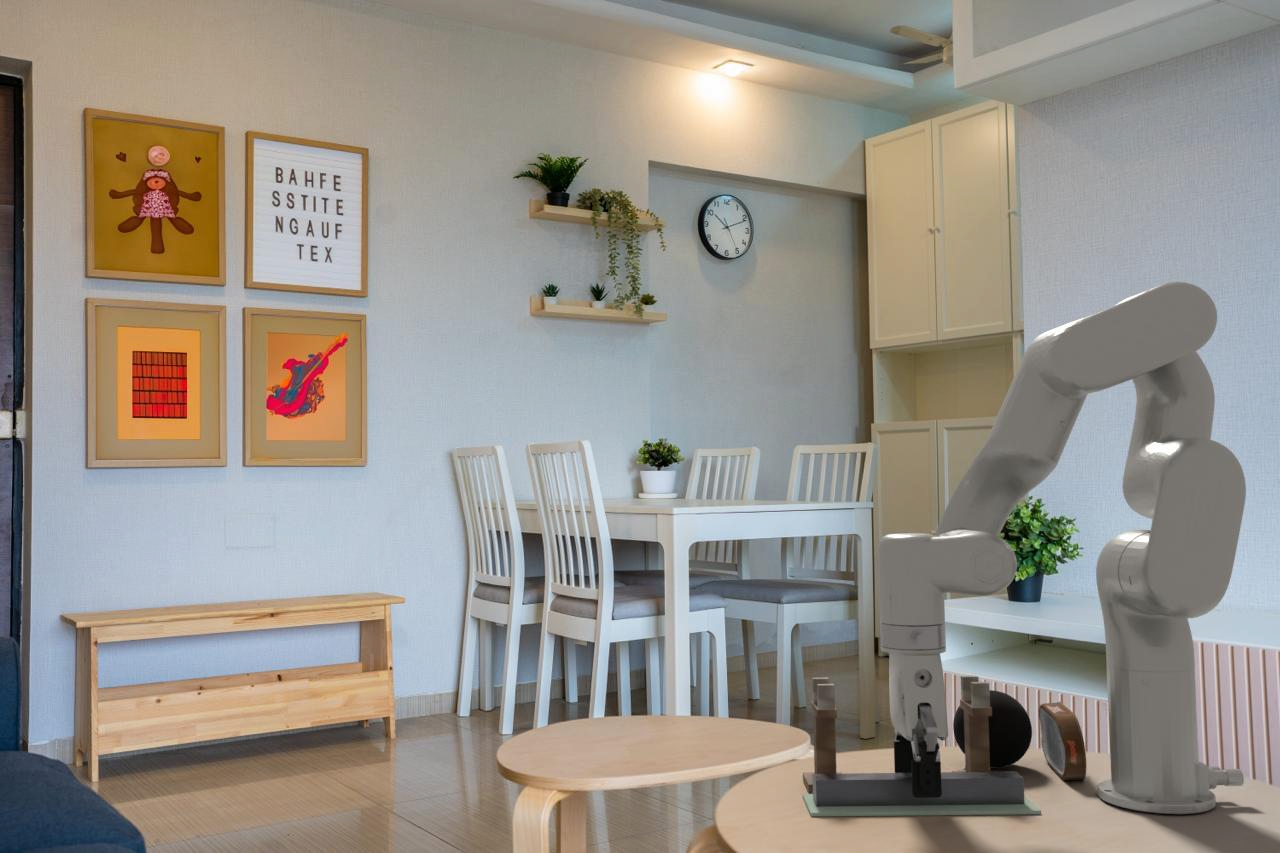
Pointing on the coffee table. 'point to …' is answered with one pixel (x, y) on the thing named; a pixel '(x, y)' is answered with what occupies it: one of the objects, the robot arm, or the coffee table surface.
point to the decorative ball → (1001, 730)
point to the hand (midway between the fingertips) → (917, 785)
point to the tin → (1062, 741)
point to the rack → (971, 702)
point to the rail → (899, 789)
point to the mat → (920, 809)
